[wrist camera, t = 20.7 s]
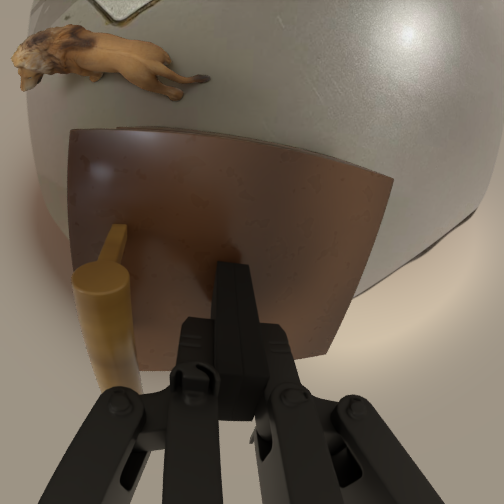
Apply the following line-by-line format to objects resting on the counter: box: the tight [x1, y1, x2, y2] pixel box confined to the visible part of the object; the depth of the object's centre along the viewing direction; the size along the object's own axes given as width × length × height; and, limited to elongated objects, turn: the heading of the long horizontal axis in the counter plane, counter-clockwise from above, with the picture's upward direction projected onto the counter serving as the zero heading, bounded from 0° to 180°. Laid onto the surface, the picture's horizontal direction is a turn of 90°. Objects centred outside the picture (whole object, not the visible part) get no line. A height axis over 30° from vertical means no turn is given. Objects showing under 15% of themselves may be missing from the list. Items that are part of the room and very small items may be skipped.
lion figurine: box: [11, 24, 210, 101], centre depth 13 cm, size 15×5×9 cm, turn 75°
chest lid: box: [67, 128, 394, 395], centre depth 12 cm, size 16×14×6 cm
